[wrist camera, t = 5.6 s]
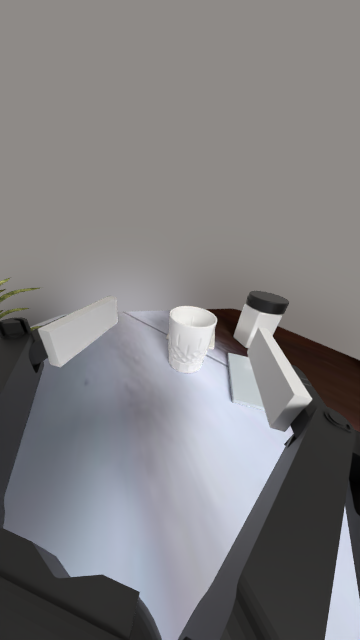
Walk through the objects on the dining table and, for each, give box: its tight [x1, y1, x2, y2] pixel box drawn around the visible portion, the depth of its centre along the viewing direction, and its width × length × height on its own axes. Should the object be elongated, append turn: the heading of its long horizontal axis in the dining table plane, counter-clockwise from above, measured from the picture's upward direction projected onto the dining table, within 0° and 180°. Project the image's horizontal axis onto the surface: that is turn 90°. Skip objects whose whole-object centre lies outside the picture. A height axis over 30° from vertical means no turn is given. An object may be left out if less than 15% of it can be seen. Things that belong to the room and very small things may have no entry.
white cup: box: [168, 306, 217, 374], centre depth 27 cm, size 8×8×10 cm
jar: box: [233, 291, 289, 348], centre depth 36 cm, size 9×8×12 cm
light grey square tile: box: [228, 353, 265, 411], centre depth 27 cm, size 11×11×1 cm
